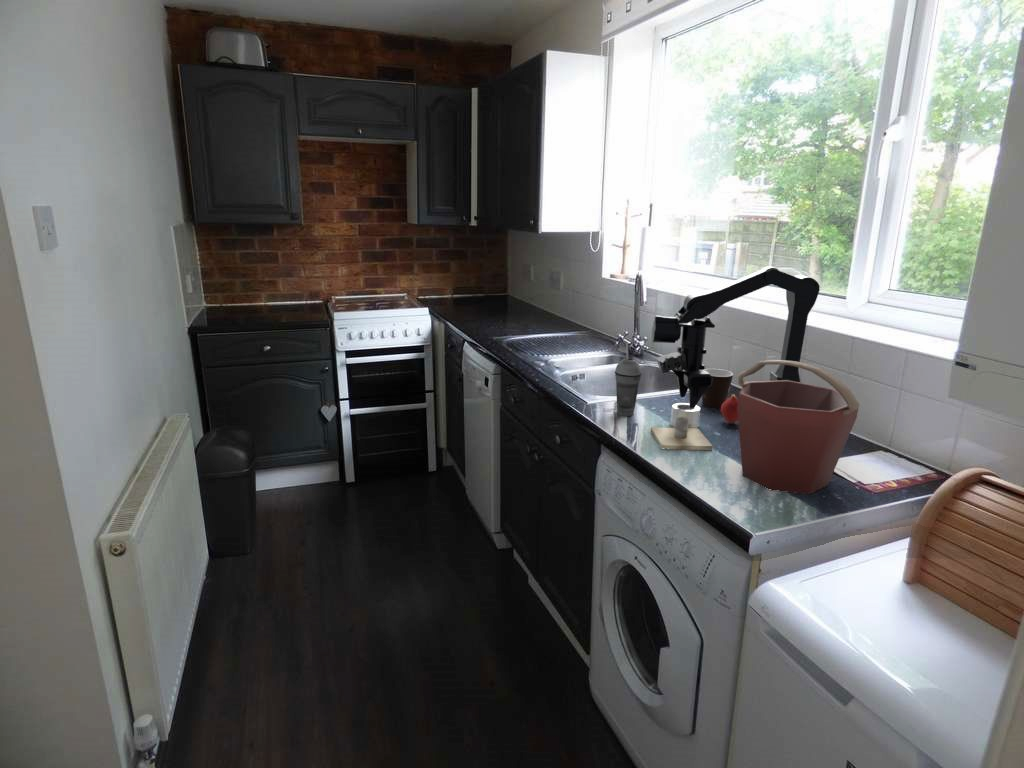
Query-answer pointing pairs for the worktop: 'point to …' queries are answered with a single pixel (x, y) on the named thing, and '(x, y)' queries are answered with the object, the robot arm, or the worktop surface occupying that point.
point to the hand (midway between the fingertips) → (687, 402)
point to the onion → (730, 409)
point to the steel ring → (685, 414)
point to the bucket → (793, 429)
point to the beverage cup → (627, 384)
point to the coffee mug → (717, 388)
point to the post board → (681, 443)
